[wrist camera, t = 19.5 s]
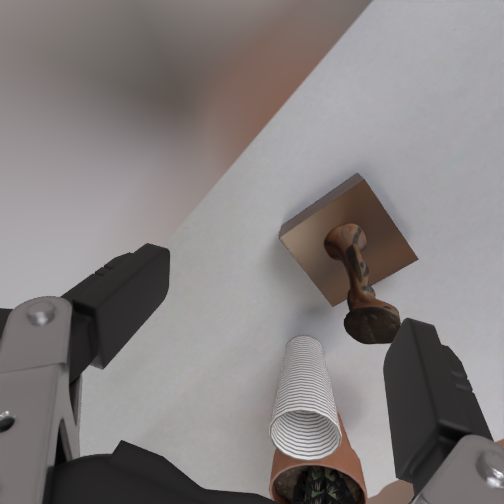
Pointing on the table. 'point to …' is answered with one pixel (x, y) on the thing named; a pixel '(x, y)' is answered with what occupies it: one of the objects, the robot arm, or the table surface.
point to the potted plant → (319, 478)
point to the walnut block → (337, 214)
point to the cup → (305, 404)
